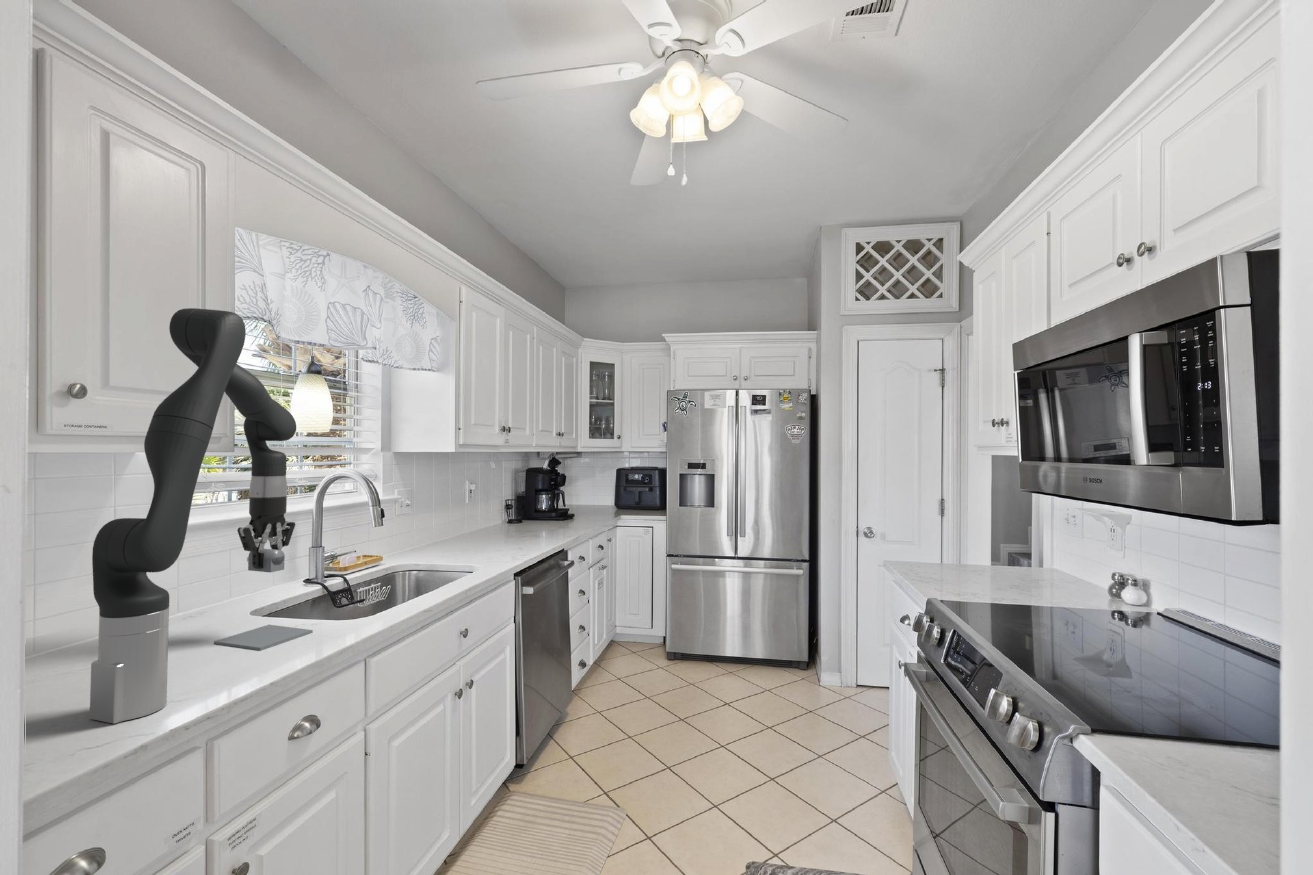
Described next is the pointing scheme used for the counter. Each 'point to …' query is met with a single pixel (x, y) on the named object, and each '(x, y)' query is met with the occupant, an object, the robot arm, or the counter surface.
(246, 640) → the slate mat
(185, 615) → the counter surface
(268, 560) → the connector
